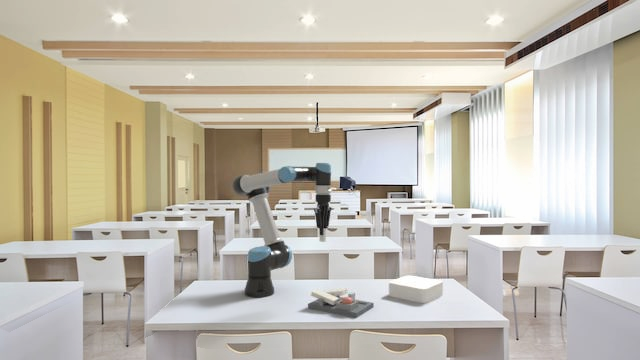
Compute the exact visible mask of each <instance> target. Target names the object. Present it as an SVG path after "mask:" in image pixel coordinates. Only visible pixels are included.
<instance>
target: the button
mask: <svg viewBox="0 0 640 360" xmlns="http://www.w3.org/2000/svg"><path fill="white" fill-rule="evenodd" d="M342 297H343V296H342ZM342 303H344V304H352V298H351V297H348V296H344V297H343V298H342Z"/></svg>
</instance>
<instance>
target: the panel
mask: <svg viewBox="0 0 640 360" xmlns="http://www.w3.org/2000/svg"><path fill="white" fill-rule="evenodd" d="M330 295H332V294H330ZM335 297H338V298H339V302H337V303H336V304H334V305H331V304H329V303H327V302H324V299H321V298H319V299H317V298H316V299H315V300H313V301H311V302H309V303H308V304H307V308H308V309H311V310H317V311H321V312H326V313H331V314H336V315H341V316H347V317H350V318H355V319H356V318H359V317H360V316H362V315H363V314H366V312H368V311H369V310H372V309H373V308H374V304H375V303H374V302H372V301H371V302H370V301H365V300H360V299H355V300H352V304H344V303H342V298H343V296H335Z"/></svg>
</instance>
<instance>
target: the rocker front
mask: <svg viewBox="0 0 640 360" xmlns="http://www.w3.org/2000/svg"><path fill="white" fill-rule="evenodd" d="M310 296H311V297H313V298H315V299H316V300H317V299H319V298H321V299H324V302H327V303H329V304H331V305H334V304H336V303H337V302H339V298H338V297H335V296H333V295H330V294H328V293H326V292H323V290H321V289H318V288H317V289H314V290H313V291H311V294H310Z"/></svg>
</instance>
